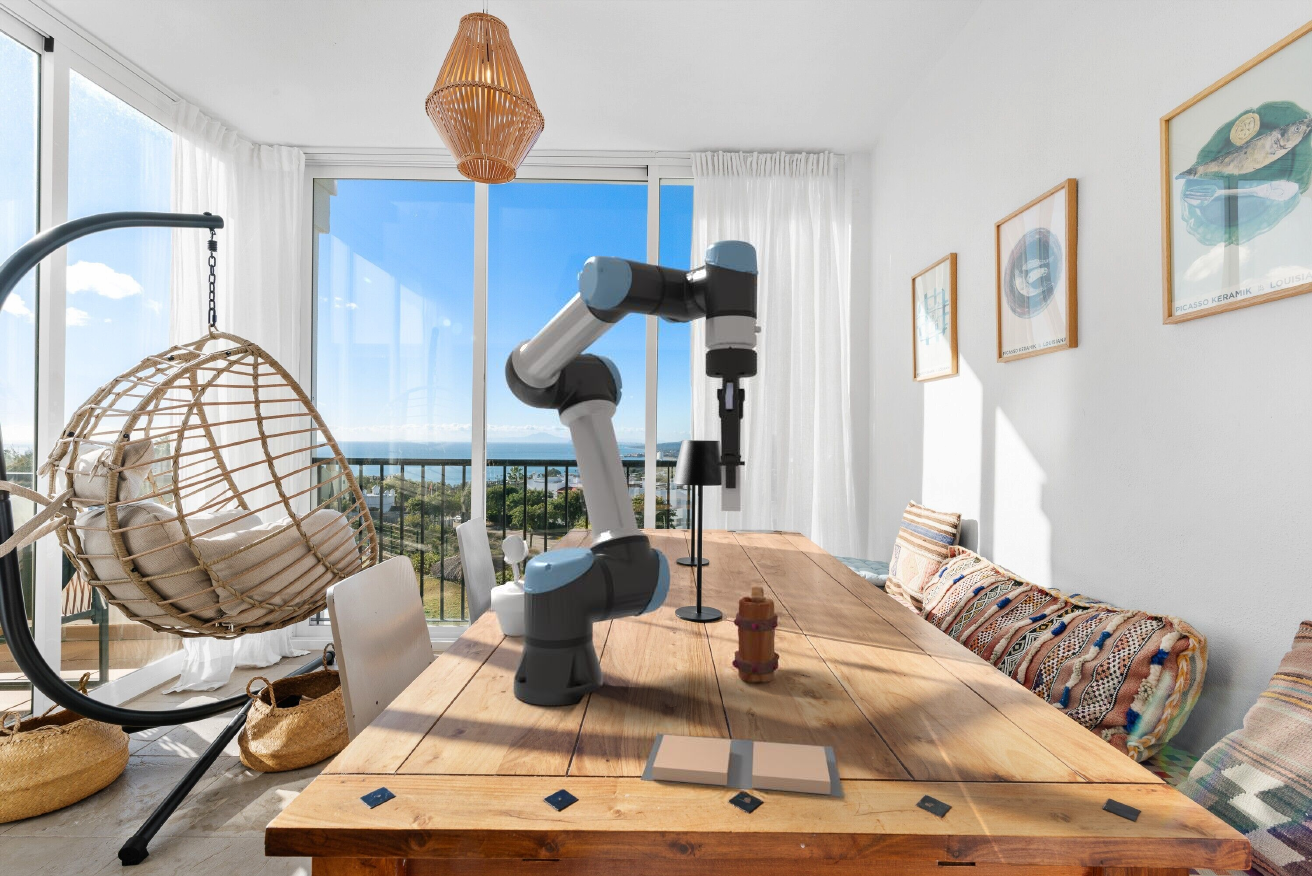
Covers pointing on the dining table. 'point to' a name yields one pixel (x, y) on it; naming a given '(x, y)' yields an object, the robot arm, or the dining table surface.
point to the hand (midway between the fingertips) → (731, 510)
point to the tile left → (693, 760)
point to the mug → (756, 638)
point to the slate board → (747, 767)
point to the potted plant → (511, 590)
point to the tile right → (790, 768)
